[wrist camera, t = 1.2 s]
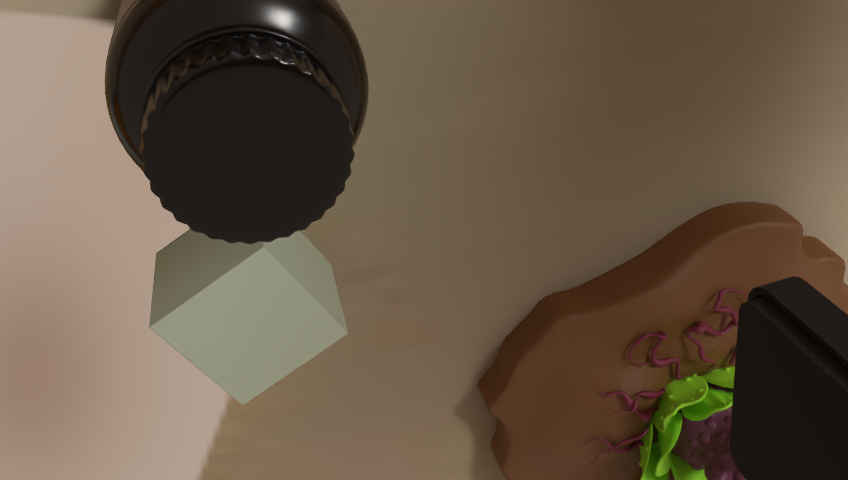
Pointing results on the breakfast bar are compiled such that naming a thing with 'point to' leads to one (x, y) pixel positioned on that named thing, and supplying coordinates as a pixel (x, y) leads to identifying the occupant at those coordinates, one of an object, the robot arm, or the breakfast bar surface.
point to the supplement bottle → (238, 109)
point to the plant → (646, 354)
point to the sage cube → (245, 308)
